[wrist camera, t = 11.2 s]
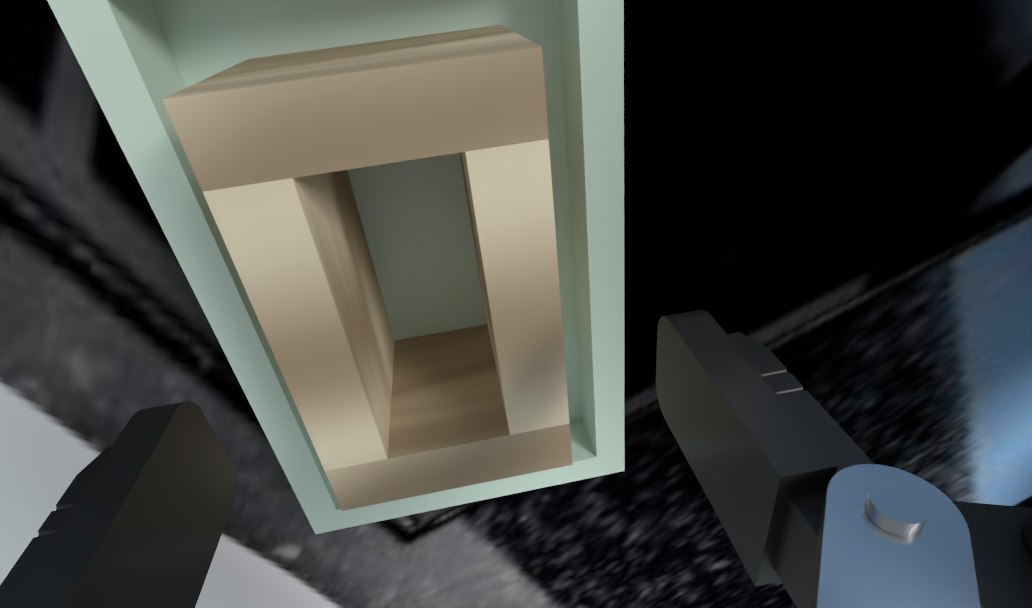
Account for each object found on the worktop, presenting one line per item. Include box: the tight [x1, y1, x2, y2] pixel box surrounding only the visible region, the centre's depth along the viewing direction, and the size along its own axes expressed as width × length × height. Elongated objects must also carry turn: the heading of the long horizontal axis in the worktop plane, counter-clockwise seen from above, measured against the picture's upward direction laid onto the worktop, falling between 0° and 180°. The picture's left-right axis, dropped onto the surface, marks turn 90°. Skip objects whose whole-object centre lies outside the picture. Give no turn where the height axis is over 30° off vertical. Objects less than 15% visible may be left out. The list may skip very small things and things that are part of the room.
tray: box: [47, 0, 625, 534], centre depth 15 cm, size 11×17×2 cm, turn 6°
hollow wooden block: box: [162, 25, 573, 511], centre depth 14 cm, size 12×6×5 cm, turn 6°
